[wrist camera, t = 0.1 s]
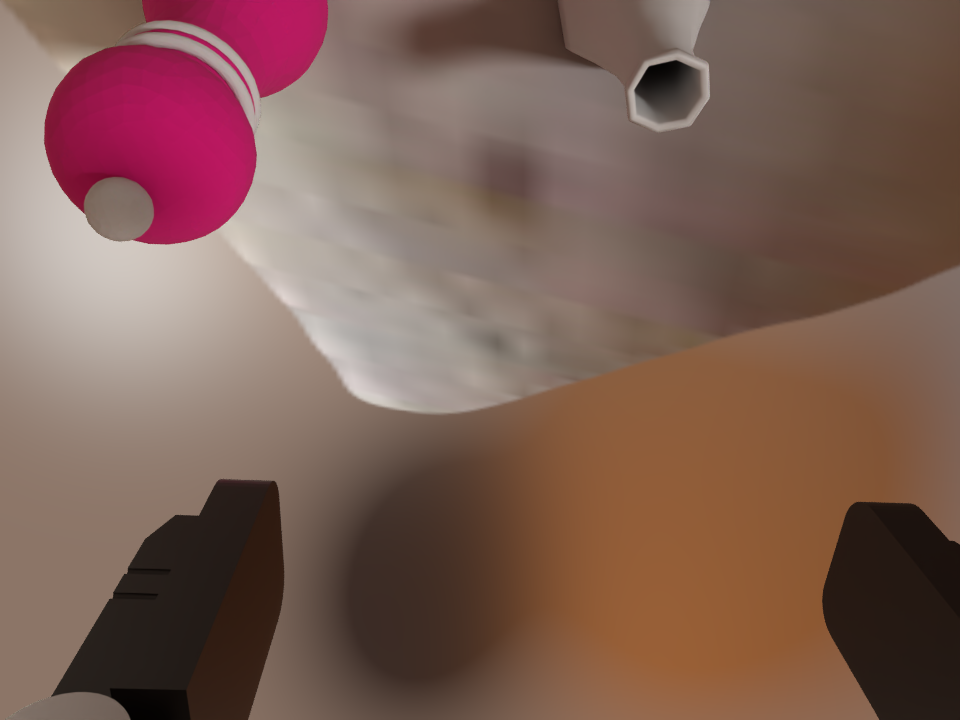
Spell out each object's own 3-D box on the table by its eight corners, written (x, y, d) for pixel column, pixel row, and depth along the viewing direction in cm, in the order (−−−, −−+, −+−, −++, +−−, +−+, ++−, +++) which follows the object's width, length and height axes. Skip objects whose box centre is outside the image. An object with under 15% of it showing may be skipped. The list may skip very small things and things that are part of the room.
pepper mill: (367, 17, 37) (292, 292, 23) (234, 64, 38) (87, 348, 24) (292, -153, 32) (137, 63, 18) (144, -90, 33) (-105, 153, 19)
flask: (543, 62, 38) (556, 172, 31) (567, -103, 33) (589, -16, 26) (687, 74, 38) (732, 185, 31) (733, -87, 33) (799, 3, 26)
